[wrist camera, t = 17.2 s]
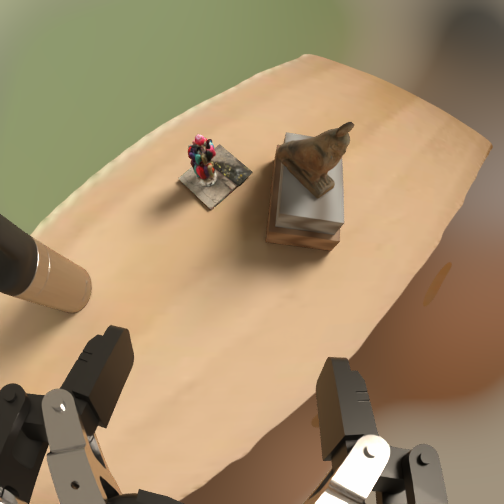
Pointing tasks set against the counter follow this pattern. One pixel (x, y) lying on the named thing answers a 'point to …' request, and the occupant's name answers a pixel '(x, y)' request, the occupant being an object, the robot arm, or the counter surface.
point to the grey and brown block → (304, 208)
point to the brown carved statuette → (315, 158)
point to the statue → (212, 171)
